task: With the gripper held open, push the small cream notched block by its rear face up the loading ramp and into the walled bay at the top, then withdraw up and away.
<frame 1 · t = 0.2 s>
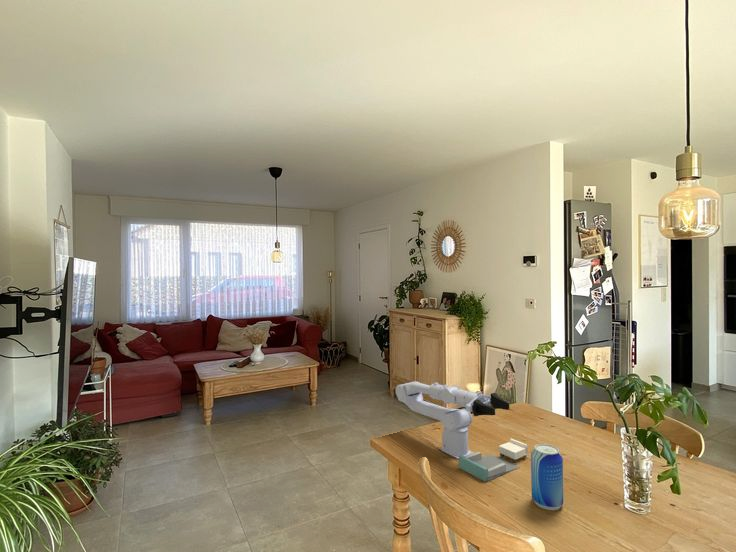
hand: (501, 409, 134), 22 cm above the table, tool horizontal, fingers open, 7 cm apart
beer can: (547, 504, 116), on the table
dock: (488, 467, 138), on the table
cream notched block: (513, 450, 145), point 3 cm above the table, slide at 0.0 cm
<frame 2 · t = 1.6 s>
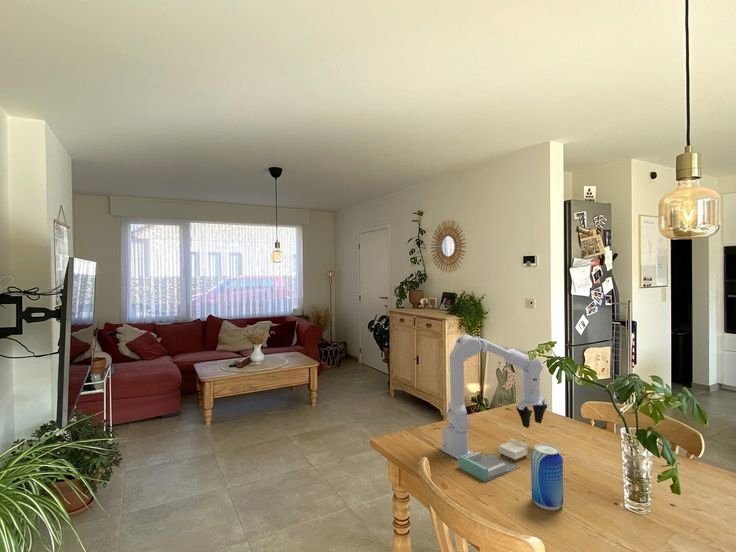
hand: (532, 424, 151), 9 cm above the table, tool pointing down, fingers open, 7 cm apart
nothing on the table moved.
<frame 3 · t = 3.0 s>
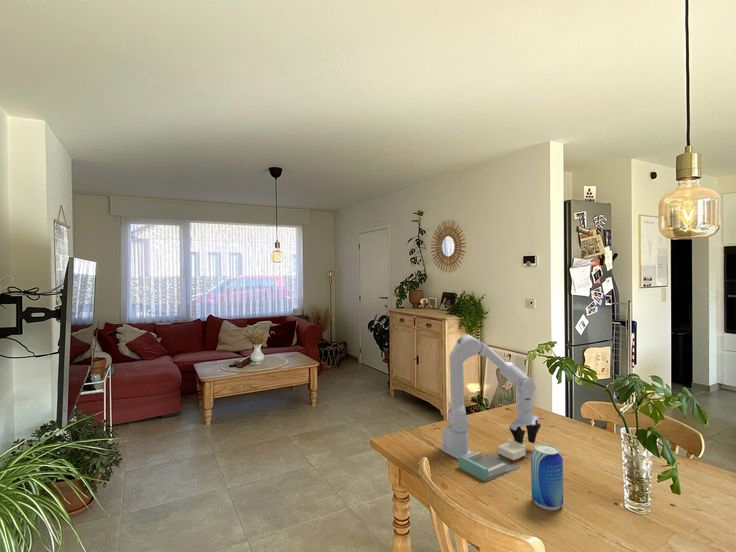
hand: (525, 444, 149), 3 cm above the table, tool pointing down, fingers open, 7 cm apart
cream notched block: (511, 450, 145), point 3 cm above the table, slide at 1.0 cm, touching gripper
everything else where it was.
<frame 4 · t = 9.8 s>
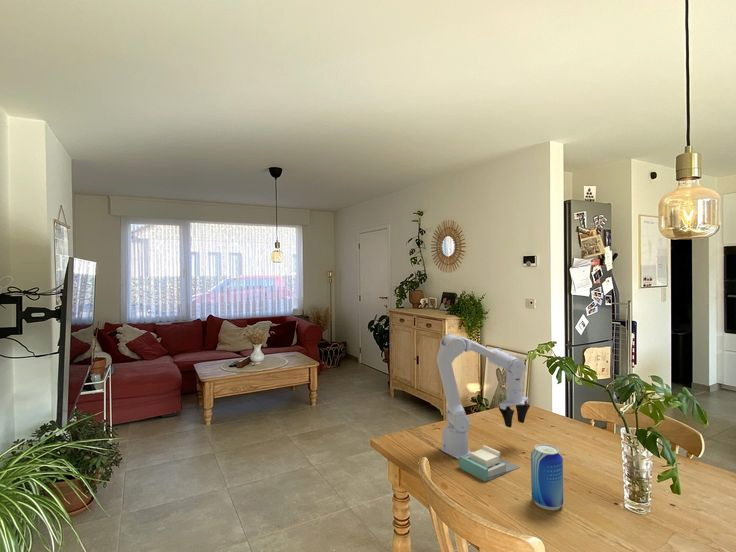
hand: (514, 424, 152), 9 cm above the table, tool pointing down, fingers open, 7 cm apart
cream notched block: (485, 458, 137), point 4 cm above the table, slide at 15.0 cm
everything else where it was.
at the end: cream notched block slide at 15.0 cm; cream notched block inside the target area (0.8 cm from its centre), point 3.8 cm above the table; the gripper is holding nothing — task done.
